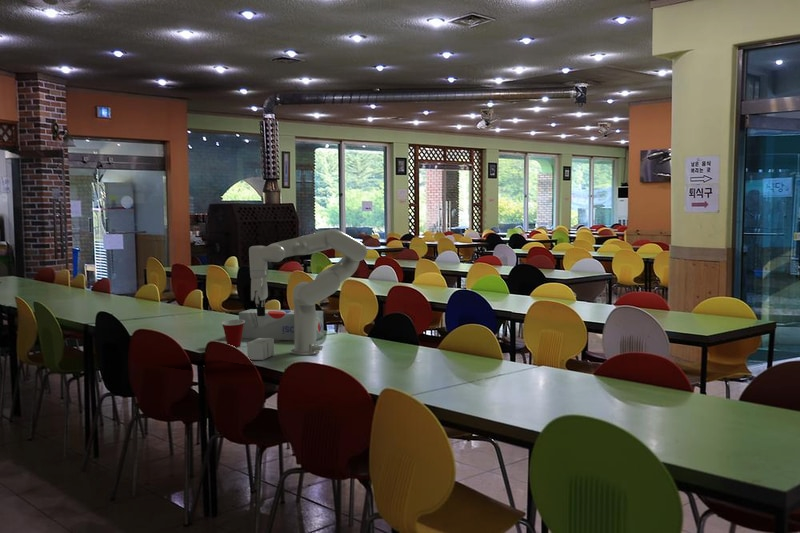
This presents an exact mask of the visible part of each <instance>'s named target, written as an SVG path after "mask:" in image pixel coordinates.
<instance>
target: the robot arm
mask: <svg viewBox="0 0 800 533" xmlns="http://www.w3.org/2000/svg"><path fill="white" fill-rule="evenodd" d="M331 249H333V250H335V251H336V252H338V253H340V254H341V255H342V257H341V259H340V260H339V261H338V262H336V263H334V264H333V265H331V266H329V267H328V268H325V269H324V270H322V271H320V272H318V273H317V275H316V276H315V277H314V278H315V279H313V280H312V281H310V282H307V281H302V282H301V281H300V282H299V283H297V284H296V285H295V286H294V288H293V291H292V302H293V303H292V304H293V310H294V348H292V349H291V350H290V353H291V354H293V355H297V356H310V355H317V354H319V353H320V352H321V351H322V350H323V348H324V346H323V345H319V342H317V341H316V311H317V310H316V304H317V303H320V302H321V301H323V300H324V299H326V298H328V297H330V296H331V295H333V294H335V293H336V292H337V291H338V290H339V288H340V286H341V283H343V282H344V281H346V280H348V279H349V278H350V277H352V276H353V275H354V274H355V272H356V271H357V270H358V267H359V265H360V261H363V260H364V259H366V257H367V255H368V248H367V246H366V245H365V244H364V243H362V241H359V240H357V239H356V238H353V237H352V236H350V235H348V234H346V233H345V232H343V231H342V230H340V229H334V228H332V229H325V230H321V231H318V232H314V233H310V234H305V235H302V236H301V235H300V236H298V237H295V238H291V239H286V240H281V241H278V242H274V243H271V244H269V245H267V246H266V245H252V246H250V247H249V248H248V257H249V258H248V260H249V274H250V275H249V276H250V279H251V280H250V301H251V302H255V306H256V309H257V316H265V310H266V299H267V298H268V297H269V289H268V281H267V280H268V279H267V278H268V277H269V274H268V272H269V270H268V262H270V263H273V262H274V263H279V262H281V261H283V259H285V258H289V257H293V256H306V255H312V254H316V253H319V252H322V251H327V250H331Z"/></svg>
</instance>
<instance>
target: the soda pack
mask: <svg viewBox="0 0 800 533" xmlns="http://www.w3.org/2000/svg"><path fill="white" fill-rule="evenodd" d="M238 320H244V321H245V323H244V326H243V332H242V339H246V340H247V339H248V340H255V339H258V338H274V341H294V309H265V316H257V308H255V309H254V308H250V309H247V310H243V311H239V312H238ZM323 338H324V311H323V310H316V342H317V341H319V340H320V339H323Z"/></svg>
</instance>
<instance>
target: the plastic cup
mask: <svg viewBox="0 0 800 533" xmlns="http://www.w3.org/2000/svg"><path fill="white" fill-rule="evenodd" d="M244 323H245V321H244V320H239V319H229V320H228V319H227V320H224V321H222V322H221V323H220V324H221V325H222V328H223V330H224V331H223V332H224V336H225V337H224V338H225V341H226V345H227V344H230V345H233V346H235V347H236V348H240V347H241V343H242V340H243V338H242V332H243V326H244Z"/></svg>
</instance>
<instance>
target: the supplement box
mask: <svg viewBox="0 0 800 533" xmlns="http://www.w3.org/2000/svg"><path fill="white" fill-rule="evenodd" d="M246 346H247V353H246V355H247V357H249V358H250V359H251V360H252V361H255V360H256V361H264V360H266V359H268V358H270V357H271V356H275V340H274V338H258V339H252V340H251V341H248V342H247V344H246ZM251 360H250V361H251Z"/></svg>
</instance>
